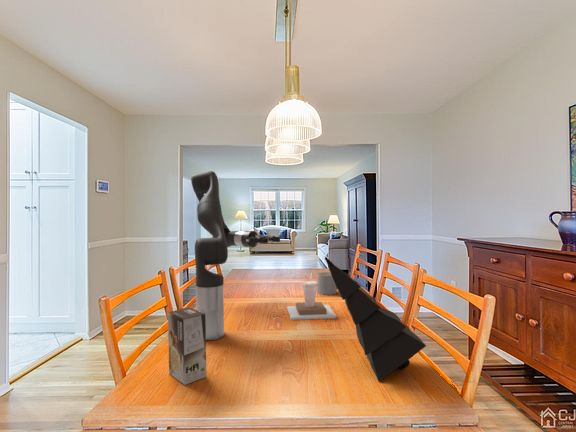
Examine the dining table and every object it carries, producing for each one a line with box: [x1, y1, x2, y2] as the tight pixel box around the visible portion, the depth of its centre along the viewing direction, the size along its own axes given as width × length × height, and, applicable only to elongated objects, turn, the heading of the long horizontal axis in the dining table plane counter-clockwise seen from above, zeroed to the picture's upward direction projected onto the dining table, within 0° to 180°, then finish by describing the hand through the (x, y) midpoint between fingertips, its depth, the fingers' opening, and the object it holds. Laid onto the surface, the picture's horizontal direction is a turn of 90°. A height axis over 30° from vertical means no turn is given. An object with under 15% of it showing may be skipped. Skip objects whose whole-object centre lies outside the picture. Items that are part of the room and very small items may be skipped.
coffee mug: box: [316, 271, 338, 296], centre depth 173 cm, size 13×10×10 cm
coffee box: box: [167, 307, 207, 386], centre depth 85 cm, size 9×6×16 cm
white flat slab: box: [286, 301, 337, 321], centre depth 138 cm, size 16×18×3 cm
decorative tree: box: [324, 256, 427, 382], centre depth 88 cm, size 15×15×35 cm
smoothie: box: [301, 271, 318, 307], centre depth 138 cm, size 6×6×14 cm
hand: (273, 240), depth 144 cm, fingers open, 8 cm apart
